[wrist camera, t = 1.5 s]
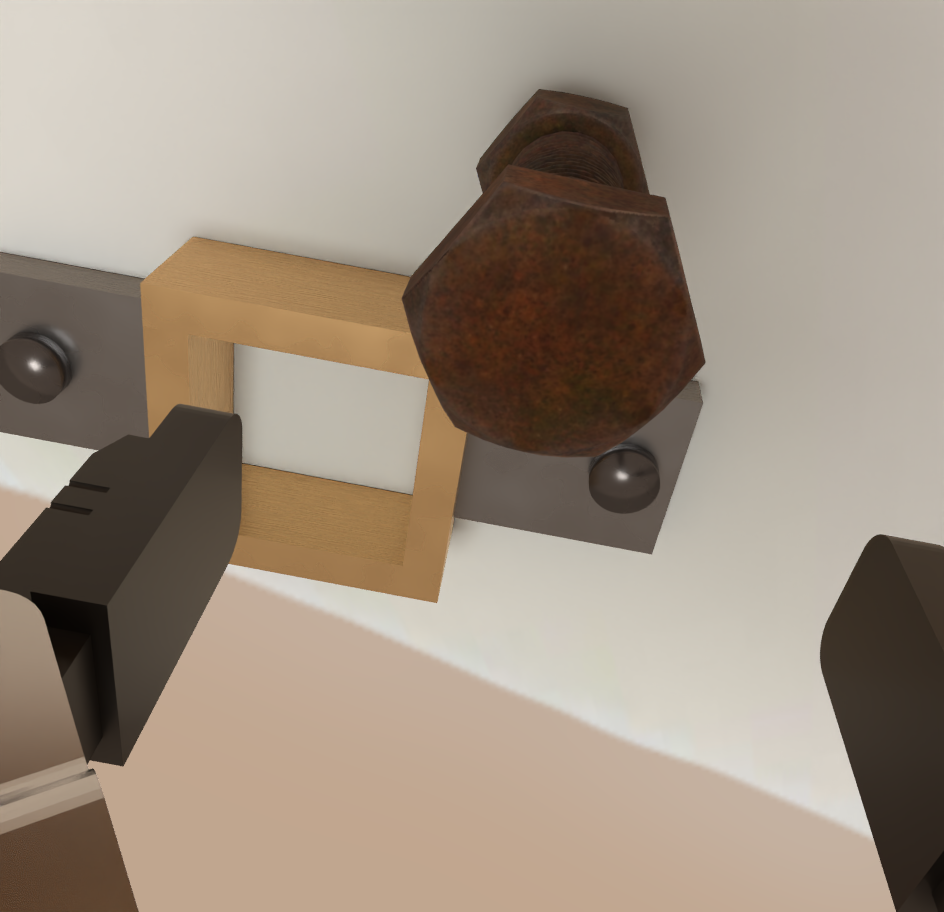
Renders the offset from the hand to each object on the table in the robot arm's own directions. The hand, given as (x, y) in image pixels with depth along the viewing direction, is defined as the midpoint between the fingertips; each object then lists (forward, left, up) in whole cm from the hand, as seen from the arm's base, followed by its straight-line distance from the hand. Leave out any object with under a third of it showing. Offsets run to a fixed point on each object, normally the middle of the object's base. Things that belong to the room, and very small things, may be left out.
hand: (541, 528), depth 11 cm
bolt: (0, 0, -21) cm, 21 cm away
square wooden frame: (+7, +11, -21) cm, 25 cm away
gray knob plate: (-2, +11, -21) cm, 24 cm away
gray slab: (+16, +11, -21) cm, 28 cm away
